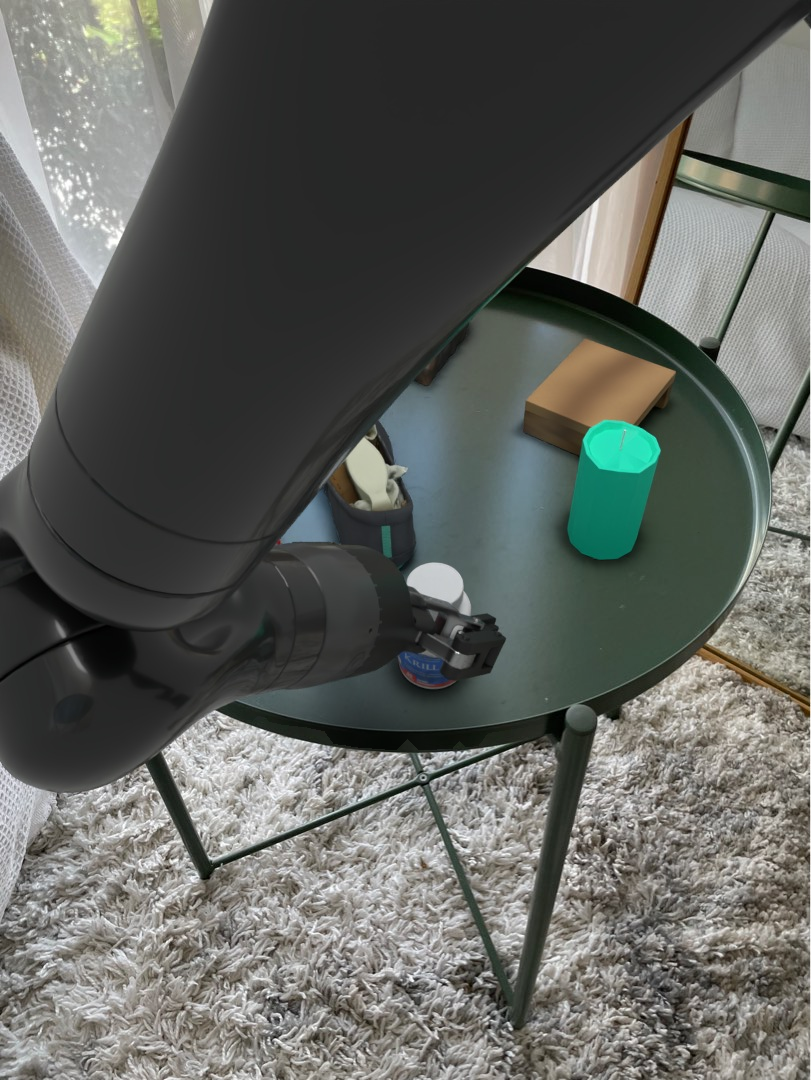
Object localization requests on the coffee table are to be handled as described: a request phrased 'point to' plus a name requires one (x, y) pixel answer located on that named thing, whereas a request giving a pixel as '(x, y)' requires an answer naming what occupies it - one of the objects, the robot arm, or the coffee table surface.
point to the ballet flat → (373, 499)
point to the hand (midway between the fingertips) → (435, 601)
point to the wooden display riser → (594, 394)
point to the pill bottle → (442, 586)
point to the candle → (611, 488)
